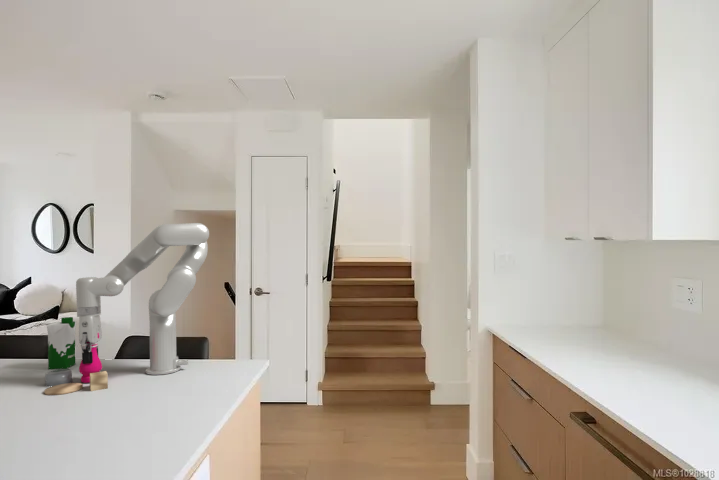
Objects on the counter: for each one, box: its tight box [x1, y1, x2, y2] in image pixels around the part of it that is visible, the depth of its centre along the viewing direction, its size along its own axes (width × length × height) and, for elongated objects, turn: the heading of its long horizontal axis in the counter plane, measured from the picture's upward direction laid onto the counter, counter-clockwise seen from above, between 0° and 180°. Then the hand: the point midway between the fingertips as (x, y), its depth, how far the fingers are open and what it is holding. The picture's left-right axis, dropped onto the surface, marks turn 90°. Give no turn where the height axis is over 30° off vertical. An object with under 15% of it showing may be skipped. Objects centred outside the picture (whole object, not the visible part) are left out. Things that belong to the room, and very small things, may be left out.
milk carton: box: [46, 316, 77, 370], centre depth 188 cm, size 9×9×20 cm
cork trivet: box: [43, 382, 84, 396], centre depth 156 cm, size 11×11×1 cm
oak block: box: [89, 370, 109, 392], centre depth 158 cm, size 5×5×5 cm
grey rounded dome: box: [44, 368, 73, 387], centre depth 165 cm, size 8×8×4 cm
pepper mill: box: [78, 333, 103, 384], centre depth 166 cm, size 7×7×20 cm
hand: (90, 360), depth 166 cm, fingers closed on pepper mill, 5 cm apart
